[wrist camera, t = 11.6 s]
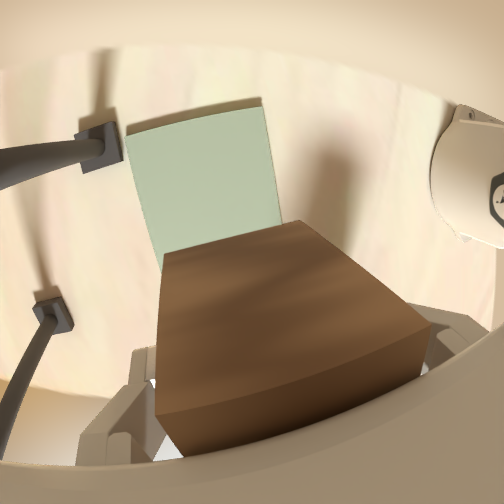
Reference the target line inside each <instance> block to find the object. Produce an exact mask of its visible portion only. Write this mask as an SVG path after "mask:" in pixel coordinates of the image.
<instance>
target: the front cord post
mask: <svg viewBox="0 0 504 504" xmlns="http://www.w3.org/2000/svg"><path fill="white" fill-rule="evenodd" d="M74 138H75V140H70V141H60V142H50V143H41V144H33V145H25V146H18V147H12V148H5V149H0V190H3V189H5V188H7V187H10V186H13V185H15V184H18V183H20V182H23V181H26V180H28V179H31V178H34V177H36V176H39V175H42V174H45V173H48V172H51V171H54V170H57V169H60V168H63V167H66V166H69V165H72V164H76V163H79V162H80V164H81V168H82V172H83V174H85V173H88V172H91V171H94V170H97V169H100V168H103V167H106V166H109V165H112V164H115V163H118V162H121V161H123V157H122V153H121V148H120V144H119V139H118V135H117V130H116V125H115V122H109V123H106V124H103V125H100V126H97V127H94V128H91V129H88V130H85V131H83V132H80V133H77V134H75V135H74Z"/></svg>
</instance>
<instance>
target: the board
mask: <svg viewBox="0 0 504 504" xmlns="http://www.w3.org/2000/svg"><path fill="white" fill-rule="evenodd" d="M124 138H125V143H126V147H127V152H128V156H129V160H130V165H131V169H132V173H133V177H134V181H135V185H136V189H137V192H138V196H139V200H140V204H141V207H142V211H143V215H144V218H145V222H146V225H147V229H148V232H149V235H150V239H151V242H152V245H153V249H154V252H155V255H156V258H157V261H158V264H159V268H160V271H161V274H162V267H163V257H164V254H165V253H169V252H173V251H176V250H180V249H184V248H188V247H192V246H196V245H200V244H204V243H208V242H212V241H216V240H220V239H224V238H228V237H232V236H236V235H240V234H244V233H248V232H252V231H256V230H260V229H265V228H269V227H273V226H277V225H281V224H282V222H281V215H280V209H279V202H278V196H277V189H276V183H275V177H274V171H273V165H272V159H271V153H270V147H269V141H268V135H267V130H266V124H265V118H264V113H263V107H262V106H261V107H254V108H248V109H241V110H236V111H230V112H224V113H219V114H214V115H209V116H204V117H199V118H195V119H190V120H186V121H181V122H177V123H173V124H169V125H165V126H161V127H157V128H154V129H150V130H146V131H143V132H139V133H136V134H132V135H129V136H125V137H124Z"/></svg>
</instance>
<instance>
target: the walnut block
mask: <svg viewBox="0 0 504 504" xmlns="http://www.w3.org/2000/svg"><path fill="white" fill-rule="evenodd" d="M431 327H432V324H431V323H430V322H429V321H428V320H426V319H425V318H424V317H423V316H422V315H420V314H419V313H418V312H417V311H416V310H414V309H413V308H412V307H411V306H410V305H408V304H407V303H406V302H405V301H404V300H402V299H401V298H400V297H399V296H398V295H396V294H395V293H394V292H393V291H391V290H390V289H389V288H388V287H386V286H385V285H384V284H383V283H381V282H380V281H379V280H378V279H376V278H375V277H374V276H373V275H371V274H370V273H369V272H368V271H366V270H365V269H364V268H363V267H361V266H360V265H359V264H357V263H356V262H355V261H354V260H352V259H351V258H350V257H348V256H347V255H346V254H344V253H343V252H342V251H341V250H339V249H338V248H337V247H335V246H334V245H333V244H331V243H330V242H329V241H327V240H326V239H325V238H323V237H322V236H321V235H319V234H318V233H317V232H315V231H314V230H313V229H311V228H310V227H309V226H307V225H306V224H305V223H303V222H302V221H300V220H298V221H294V222H290V223H285V224H281V225H277V226H273V227H269V228H265V229H260V230H256V231H252V232H248V233H244V234H240V235H236V236H232V237H228V238H224V239H220V240H216V241H212V242H208V243H204V244H200V245H196V246H192V247H188V248H184V249H180V250H176V251H173V252H169V253H165V254H164V257H163V267H162V276H161V287H160V298H159V311H158V325H157V342H156V364H155V417H156V418H157V420H158V421H159V423H160V424H161V426H162V427H163V429H164V430H165V432H166V433H167V435H168V436H169V437H170V439H171V440H172V442H173V443H174V445H175V446H176V447H177V449H178V450H179V451H180V453H181V454H182V455H183V456H184V457H189V456H195V455H200V454H205V453H210V452H215V451H220V450H225V449H229V448H233V447H237V446H242V445H246V444H249V443H253V442H257V441H261V440H264V439H268V438H271V437H275V436H278V435H281V434H284V433H288V432H291V431H294V430H297V429H300V428H303V427H306V426H309V425H311V424H314V423H317V422H320V421H322V420H325V419H328V418H330V417H333V416H336V415H338V414H341V413H343V412H346V411H348V410H350V409H353V408H355V407H357V406H360V405H362V404H364V403H367V402H369V401H371V400H373V399H375V398H378V397H380V396H382V395H384V394H386V393H388V392H390V391H392V390H394V389H396V388H398V387H400V386H402V385H404V384H406V383H408V382H410V381H412V380H414V379H416V378H417V377H419V376H420V375H421V371H422V367H423V363H424V359H425V355H426V350H427V346H428V341H429V337H430V332H431Z"/></svg>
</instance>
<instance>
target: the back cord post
mask: <svg viewBox="0 0 504 504" xmlns="http://www.w3.org/2000/svg"><path fill="white" fill-rule="evenodd" d="M32 309H33V311H34V313H35V315H36V317H37V319H38V321H39V323H40V326H39V328H38V330H37V331H36V333H35V335H34V337H33V338H32V340H31V342H30V344H29V346H28V348H27V349H26V351H25V353H24V355H23V357H22V359H21V361H20V363H19V365H18V367H17V369H16V371H15V373H14V375H13V377H12V379H11V381H10V383H9V385H8V387H7V389H6V391H5V394H4V396H3V398H2V400H1V403H0V460H1V461H2V458H3V455H4V452H5V448H6V445H7V442H8V439H9V436H10V433H11V430H12V427H13V424H14V422H15V419H16V416H17V413H18V411H19V408H20V406H21V403H22V400H23V398H24V396H25V393H26V391H27V388H28V386H29V383H30V381H31V379H32V377H33V374H34V372H35V370H36V367H37V365H38V363H39V361H40V359H41V357H42V355H43V352H44V350H45V348H46V346H47V344H48V342H49V340H50V338H51V336H52V335H55V334H60V333H65V332H70V331H72V329H73V327H74V323H73V321H72V319H71V317H70V315H69V313H68V311H67V309H66V307H65V304H64V302H63V300H62V298H61V297H58V298H54V299H50V300H46V301H42V302H38V303H36V304H35V305H34V307H33V308H32Z"/></svg>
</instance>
